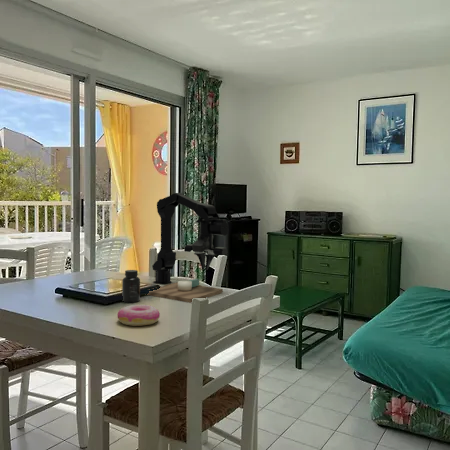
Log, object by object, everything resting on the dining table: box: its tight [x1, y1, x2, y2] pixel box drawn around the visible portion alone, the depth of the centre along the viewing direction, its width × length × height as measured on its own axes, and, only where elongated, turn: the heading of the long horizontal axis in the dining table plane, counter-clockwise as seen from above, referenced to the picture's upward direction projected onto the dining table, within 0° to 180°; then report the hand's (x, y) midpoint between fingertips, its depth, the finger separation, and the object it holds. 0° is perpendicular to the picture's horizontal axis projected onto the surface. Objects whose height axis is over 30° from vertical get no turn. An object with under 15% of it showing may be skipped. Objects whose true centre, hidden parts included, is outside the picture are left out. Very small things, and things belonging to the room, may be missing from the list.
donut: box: [117, 304, 160, 327], centre depth 150 cm, size 14×13×5 cm
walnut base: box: [147, 281, 224, 304], centre depth 194 cm, size 24×24×2 cm
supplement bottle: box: [121, 269, 141, 304], centre depth 177 cm, size 7×7×12 cm
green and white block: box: [177, 278, 200, 291], centre depth 197 cm, size 13×6×3 cm, turn 151°
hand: (204, 269), depth 198 cm, fingers closed
